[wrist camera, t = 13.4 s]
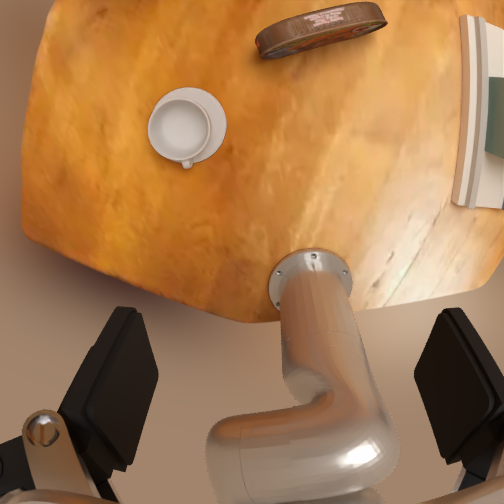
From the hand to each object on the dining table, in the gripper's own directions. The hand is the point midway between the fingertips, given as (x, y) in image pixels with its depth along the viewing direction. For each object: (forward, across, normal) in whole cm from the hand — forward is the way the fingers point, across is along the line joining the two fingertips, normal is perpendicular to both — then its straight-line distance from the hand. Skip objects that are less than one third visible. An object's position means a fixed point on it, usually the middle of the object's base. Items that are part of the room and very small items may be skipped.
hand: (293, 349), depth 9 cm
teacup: (+34, +11, -3) cm, 35 cm away
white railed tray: (+33, -32, -9) cm, 47 cm away
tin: (+33, -5, -15) cm, 37 cm away
